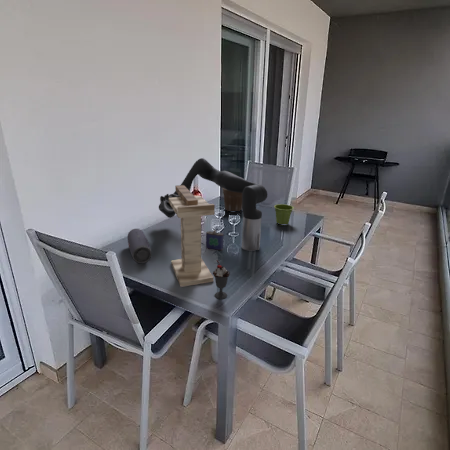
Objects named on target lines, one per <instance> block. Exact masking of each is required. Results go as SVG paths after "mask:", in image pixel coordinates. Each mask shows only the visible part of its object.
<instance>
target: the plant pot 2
mask: <svg viewBox="0 0 450 450" xmlns="http://www.w3.org/2000/svg"><path fill="white" fill-rule="evenodd" d="M273 206H274V211H275V220H276V222H277V223H279V224H288V225H289V221H290V219H291V215H292V211H293V210H294V208H295V207H294V206H292V205H290V204H284V203H279V204H275V205H273ZM277 223H276V224H277Z"/></svg>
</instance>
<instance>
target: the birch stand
mask: <svg viewBox="0 0 450 450" xmlns="http://www.w3.org/2000/svg"><path fill="white" fill-rule="evenodd" d="M194 196H195V198H196V199H197V200H198V205H191V206H187V205H186V204H185V202H184V201H183V200H182V199H181V197H174V198H169V203H170V205H171V207H172V208H173V210H174V211H175V213H176V214H175V215H176V217H177V218H178V219H180V244H181V245H180V249H181V254H180V255H181V258H179V259H173V260H170V261H171V262H170V263H171V264H170V265H171V267H172V269H173V271H174V274H175V277H176V280H177V281H178V284H179V287H180V288H182V287H183V288H184V287H188V286H194V285H199V284H200V285H201V284H207V283H213V282H214V275H213V273H211V271H210V269H209V268H208V266H207V265H206V263H205V261H204V260H203V258H202V217H203V216H204V217H205V216H215V212H216V210H215V207H216V205H215V204H214V203H208V201H206V200H205V198H204V197H203V196H201V195H194Z"/></svg>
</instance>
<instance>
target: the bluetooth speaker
mask: <svg viewBox="0 0 450 450" xmlns="http://www.w3.org/2000/svg"><path fill="white" fill-rule="evenodd" d="M127 243H128V248H129V252H130V254H131V257H132V259H133V260H134V261H135V262H136V263H137V264H143V263H144V264H145V263H147V262H148V261H150V259H151V258H152V250H151V245H150V243H149V241H148V238H147V236H146V234H145V233H144V231H142V229H140V228H132V229H130V230H129V232H128V234H127Z"/></svg>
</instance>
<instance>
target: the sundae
mask: <svg viewBox="0 0 450 450" xmlns="http://www.w3.org/2000/svg"><path fill="white" fill-rule="evenodd" d="M215 261H216V262H217V263H218V265H217V266H216V268H215V269H214V271H212V276H213V278H214V281H215V285H216V287H217V288H218V289H219V291H217V292H215V294H214V297H215V298H216V299H218V300H223V299H227V297H228V294H227V292H225V291H223V289H224V288H226V286H227V283H228V279H229V278H230V275H231V272H230V271H229V270H227V269H226V268H225V266H223V265H220V264H221V263H220V262H219V261H218V259H217V260H215Z"/></svg>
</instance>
